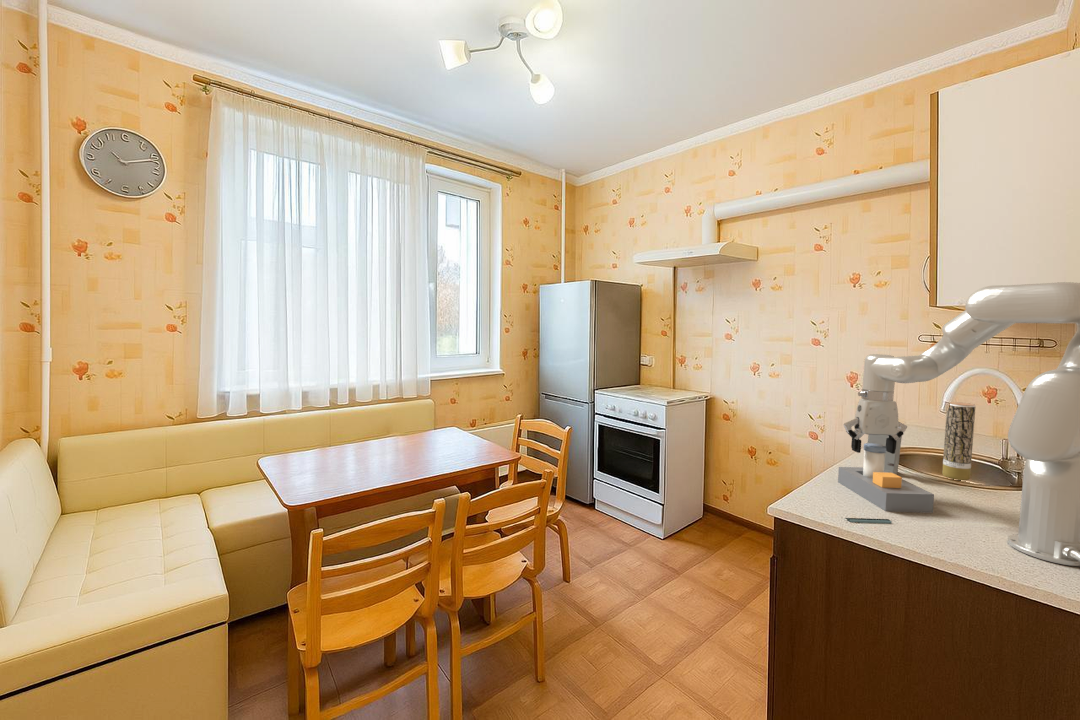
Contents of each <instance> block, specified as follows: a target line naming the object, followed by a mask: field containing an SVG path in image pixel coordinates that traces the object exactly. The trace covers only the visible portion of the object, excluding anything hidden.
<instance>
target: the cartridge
mask: <svg viewBox="0 0 1080 720" xmlns="http://www.w3.org/2000/svg"><path fill="white" fill-rule="evenodd" d="M885 453H886V446H884V445H880V444H874V443H868V442H867V443H863V466H862V467H863V476H865V477H867V478H873V472H884V462H885Z"/></svg>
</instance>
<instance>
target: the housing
mask: <svg viewBox="0 0 1080 720" xmlns="http://www.w3.org/2000/svg"><path fill="white" fill-rule="evenodd" d="M884 472H886V471H884ZM837 473H838V475H837V476H838V477H837V483H838V484H840V485H841V486H843V487H844V488H846V489H848V490H850V491H852V492H853V493H854V494H856V495H857V496H859V497H861V498H863V499H864V500H866V501H868V502H870V503H871V504H872V505H874V506H876V507H878V508H879V509H881V510H883V511H884V512H891V513H893V512H894V513H897V512H898V513H925V514H926V513H930V514H933V513H934V502H935V501H934V500H935V494H934V493H932V492H929V491H928V490H926V489H923V488H921V487H920V486H917V485H915V484H913V483H912V482H909V481H907V480H905V479H903V478H902V483H901V488H882V487H880V486H878V485H876V484H875V483H873V478H867V477H865V476H863V466H861V467H860V466H859V467H857V466H856V467H855V466H853V467H852V466H838V472H837ZM886 473H889V472H886Z"/></svg>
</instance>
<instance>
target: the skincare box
mask: <svg viewBox="0 0 1080 720" xmlns="http://www.w3.org/2000/svg"><path fill="white" fill-rule="evenodd" d="M867 436H868V437H867V443H874V444H880V445H884V446H886V439H887V438H889V437H888V436H887V435H868V434H867ZM902 437H903V435H902V436H901V437H900V438H899V440H898V441H896V450H895V454H892V453H890V452H887V451H886V453H885V462H884V471H886V472H889V473H894V474H896V475H897V474H898V472H899V465H900V464H899V463H900V457H901V456H900V455H901V445H902V440H903V439H902Z"/></svg>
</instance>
